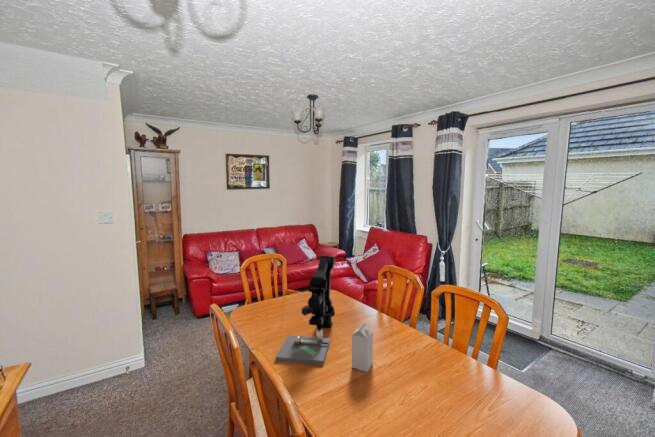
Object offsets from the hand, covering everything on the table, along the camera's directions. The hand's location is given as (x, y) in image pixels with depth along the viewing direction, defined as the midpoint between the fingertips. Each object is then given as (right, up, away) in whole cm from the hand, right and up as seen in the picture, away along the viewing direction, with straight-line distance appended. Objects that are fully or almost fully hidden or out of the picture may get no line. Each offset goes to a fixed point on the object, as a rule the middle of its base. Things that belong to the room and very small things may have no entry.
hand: (319, 330), depth 151 cm
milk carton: (+19, -8, -20) cm, 29 cm away
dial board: (-7, -7, -8) cm, 12 cm away
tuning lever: (-4, -4, -5) cm, 8 cm away
